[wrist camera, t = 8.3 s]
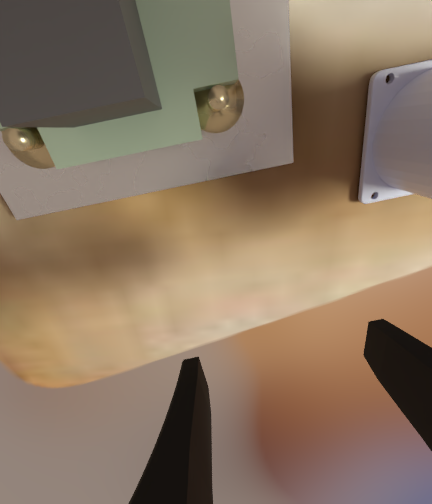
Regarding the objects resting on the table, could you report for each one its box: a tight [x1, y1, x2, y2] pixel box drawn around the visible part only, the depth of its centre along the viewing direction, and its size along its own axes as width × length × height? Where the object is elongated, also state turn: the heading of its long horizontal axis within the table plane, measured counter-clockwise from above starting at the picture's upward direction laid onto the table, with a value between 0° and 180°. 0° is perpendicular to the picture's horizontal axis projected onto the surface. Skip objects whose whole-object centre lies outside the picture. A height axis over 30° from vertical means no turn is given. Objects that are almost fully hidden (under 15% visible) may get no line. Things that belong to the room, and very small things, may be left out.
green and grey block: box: [0, 0, 239, 169], centre depth 8 cm, size 11×8×6 cm
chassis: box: [0, 0, 293, 220], centre depth 11 cm, size 18×14×4 cm
